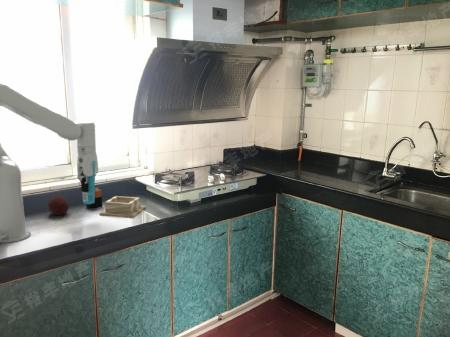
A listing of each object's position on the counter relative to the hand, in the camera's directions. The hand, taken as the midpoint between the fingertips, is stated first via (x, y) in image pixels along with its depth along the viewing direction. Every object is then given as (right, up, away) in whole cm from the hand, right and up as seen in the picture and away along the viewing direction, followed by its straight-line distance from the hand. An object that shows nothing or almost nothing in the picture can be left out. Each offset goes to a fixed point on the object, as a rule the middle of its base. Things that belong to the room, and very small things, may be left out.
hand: (88, 190), depth 170 cm
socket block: (+11, -11, +16) cm, 23 cm away
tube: (0, -6, +1) cm, 6 cm away
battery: (-5, -10, +22) cm, 25 cm away
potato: (-18, -12, +12) cm, 25 cm away
